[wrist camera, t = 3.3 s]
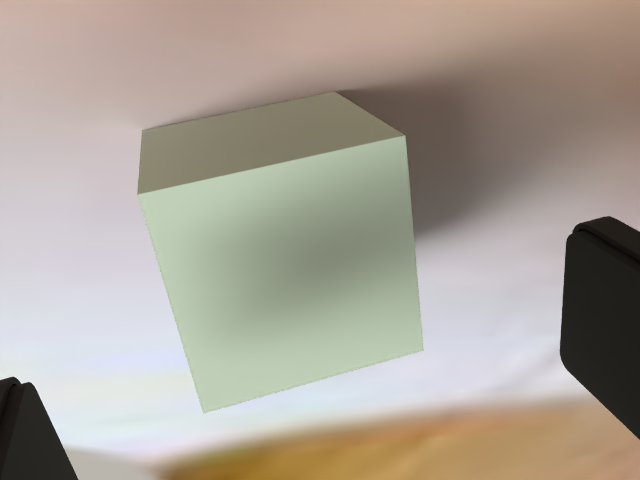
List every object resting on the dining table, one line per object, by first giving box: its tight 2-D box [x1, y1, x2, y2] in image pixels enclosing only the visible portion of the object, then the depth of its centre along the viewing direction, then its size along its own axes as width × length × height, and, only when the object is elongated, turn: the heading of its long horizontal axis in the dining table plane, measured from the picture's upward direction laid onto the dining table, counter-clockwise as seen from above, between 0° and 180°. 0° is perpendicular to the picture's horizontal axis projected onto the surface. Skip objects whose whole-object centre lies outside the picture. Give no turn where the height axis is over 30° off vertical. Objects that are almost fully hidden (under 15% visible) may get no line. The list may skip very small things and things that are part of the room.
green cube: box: [137, 91, 424, 414], centre depth 17 cm, size 6×6×6 cm
